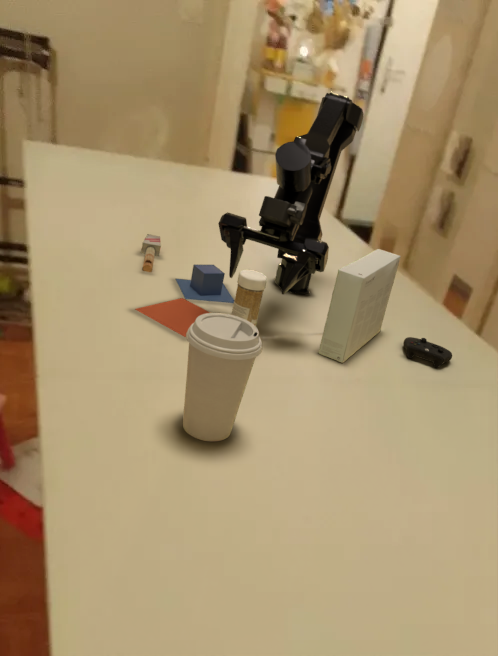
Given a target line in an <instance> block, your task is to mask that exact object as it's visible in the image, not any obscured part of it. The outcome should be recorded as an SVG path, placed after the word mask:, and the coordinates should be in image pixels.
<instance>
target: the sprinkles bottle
mask: <svg viewBox="0 0 498 656" xmlns="http://www.w3.org/2000/svg"><path fill="white" fill-rule="evenodd" d="M267 281H268V277H267V276H266V275H265V274H264V273H263V272H261V271H257V270H253V269H241V270H239V272H238V277H237V281H236V282H237V284H236V286H237V287H236V291H235V297H234V303H232V304H233V305H232V309H231V314H230V315H234V316H237V317H240V318H243V319H245V320H247V321H249V322H251V323H252V324H253V325H255V326H256V327H257V323H258V318H259V314H260V308H261V303H262V299H263V295H264V292H265V289H266V287H267Z"/></svg>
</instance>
